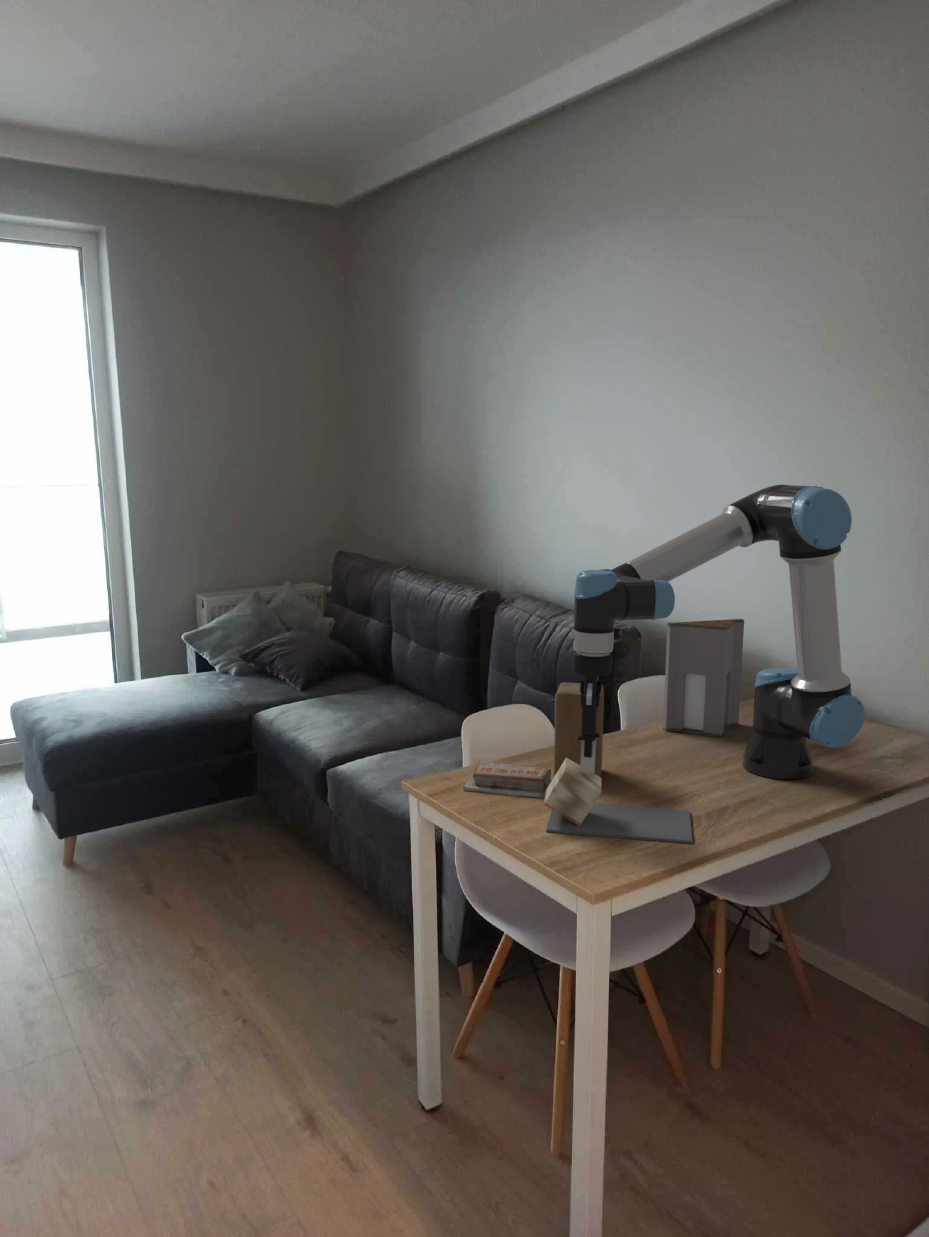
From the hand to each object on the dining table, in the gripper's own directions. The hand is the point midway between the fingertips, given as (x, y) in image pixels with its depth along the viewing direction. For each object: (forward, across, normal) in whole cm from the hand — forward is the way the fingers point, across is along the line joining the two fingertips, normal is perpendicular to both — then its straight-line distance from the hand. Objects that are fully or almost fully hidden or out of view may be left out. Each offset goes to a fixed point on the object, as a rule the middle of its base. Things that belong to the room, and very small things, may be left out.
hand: (587, 771), depth 183 cm
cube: (+1, 0, -1) cm, 1 cm away
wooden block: (+10, -25, -3) cm, 28 cm away
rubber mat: (+10, 0, +7) cm, 12 cm away
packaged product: (+11, -15, -17) cm, 26 cm away
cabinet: (+9, -64, +27) cm, 70 cm away
